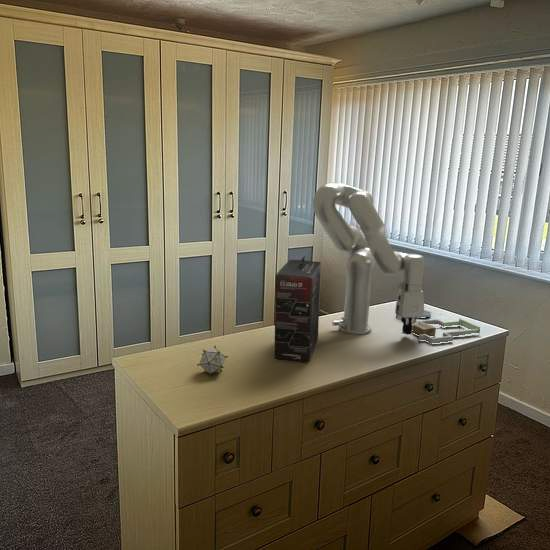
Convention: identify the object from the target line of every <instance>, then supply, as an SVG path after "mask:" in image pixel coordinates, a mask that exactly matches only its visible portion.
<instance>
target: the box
mask: <svg viewBox="0 0 550 550" xmlns="http://www.w3.org/2000/svg"><path fill="white" fill-rule="evenodd" d="M422 323H426V324H439V325H441V326H443V327H444V326H452V325H461V326H464V327H466V328H468V329H471V330H464V329H463V330H454V331H445V332H444V331H443V332H442V336H435V337H430V336H428V335H426V334H422V335H419V337H418V339H417V340H426V341H428V342H429V343H431V344H432V343H440V342H448V341H452V342H453V339H454V338H453V336H459V335H465V334H471V333H479V334H480V333H481V332H480V331H481V326H479V325H477V324H474V323H472V322H470V321H468V320H465V319H463V318H458V320H453V321H442V320H440V319H438V318H434V319H423V320H422V319H421V320H418V321H417V324H422ZM413 325H414V324H412V330H413ZM402 331H403V327H402V330H401V332H402ZM429 343H428V344H429Z"/></svg>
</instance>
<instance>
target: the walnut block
mask: <svg viewBox="0 0 550 550" xmlns="http://www.w3.org/2000/svg"><path fill="white" fill-rule="evenodd" d="M412 325H413V332H412V333H415V334H417V335H422V334H426V335H428V336H435V337H436V331H437V329H436V328H435V327H433V326H431V325H428V324H426V323H422V324H418V323H417V324H416V323H415V324H412Z"/></svg>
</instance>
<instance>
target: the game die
mask: <svg viewBox="0 0 550 550" xmlns="http://www.w3.org/2000/svg"><path fill="white" fill-rule="evenodd" d="M202 351H203V353H201V359H200V361H199V363H197V364H196V366H200V367H201V368H203V369H204V370H205V371H206V372H207V373H209V376H208V377H211V376H212V374H214V373H216V372H217V373H218V371H220V372H223V370H222V369H224V367H225V366H223V365H224V363H225V359H226V358H228V357H229V356H228V355H226V356H225V355H224V354H223V353H222V352H221V351H220V350H218V349H217V346H216V345H214V346H213V348H210V349H207V350H205V349H202Z"/></svg>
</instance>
